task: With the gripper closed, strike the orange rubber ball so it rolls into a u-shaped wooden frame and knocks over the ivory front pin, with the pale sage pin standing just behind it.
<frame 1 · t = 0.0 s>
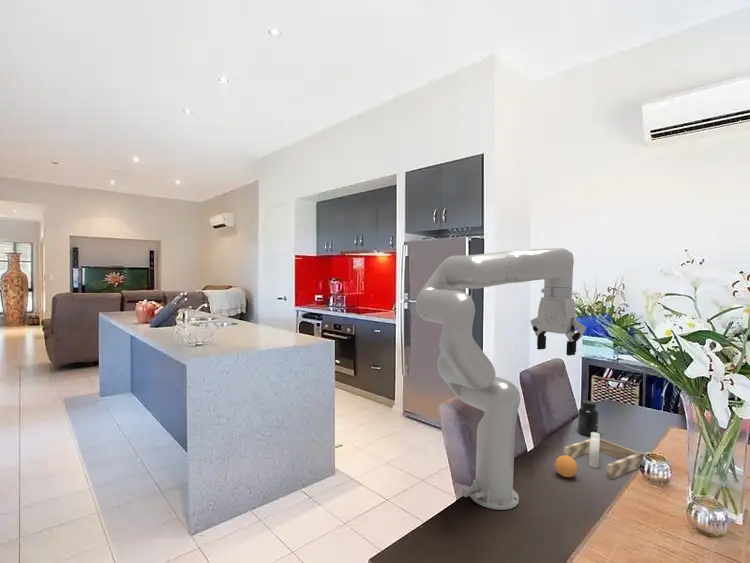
hand: (555, 352, 123), 37 cm above the table, tool pointing down, fingers open, 9 cm apart
u-shaped wooden frame: (602, 462, 134), on the table
front pin: (593, 466, 131), on the table
supplement bottle: (587, 434, 158), on the table
ball: (566, 466, 124), on the table
back pin: (594, 459, 136), resting in u-shaped wooden frame
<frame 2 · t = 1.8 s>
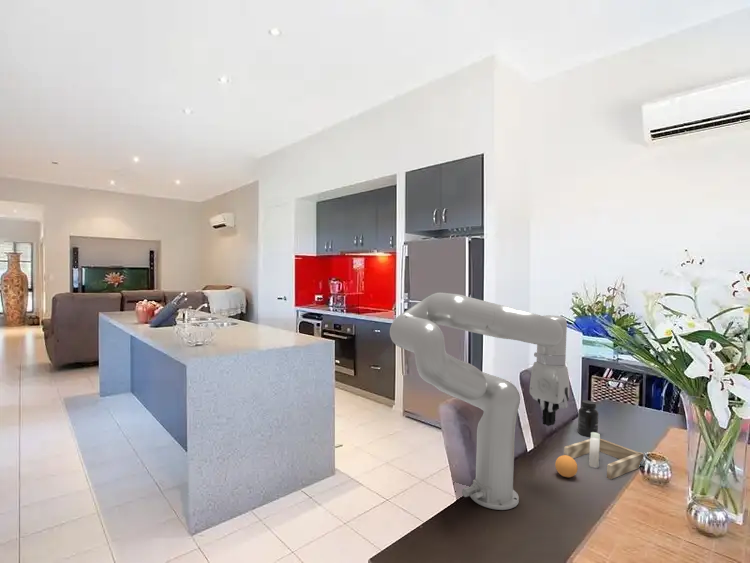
hand: (548, 424, 119), 17 cm above the table, tool pointing down, fingers closed
nothing on the table moved.
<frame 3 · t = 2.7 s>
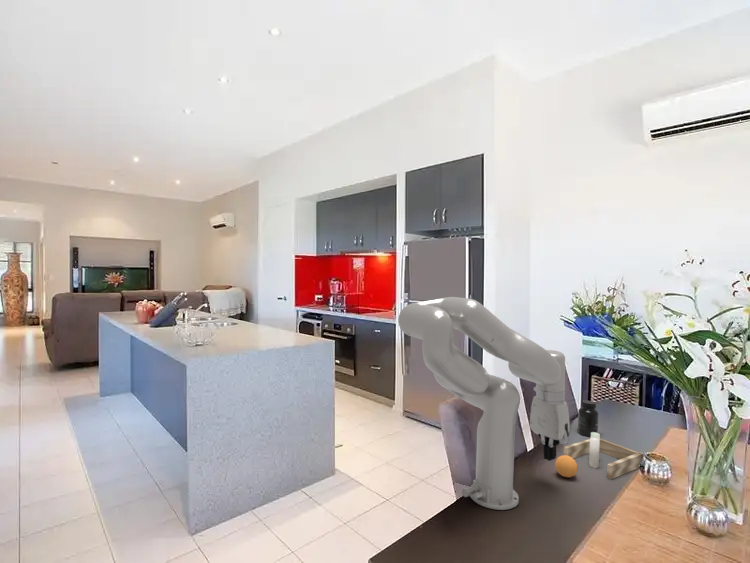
hand: (549, 458, 120), 7 cm above the table, tool pointing down, fingers closed
nothing on the table moved.
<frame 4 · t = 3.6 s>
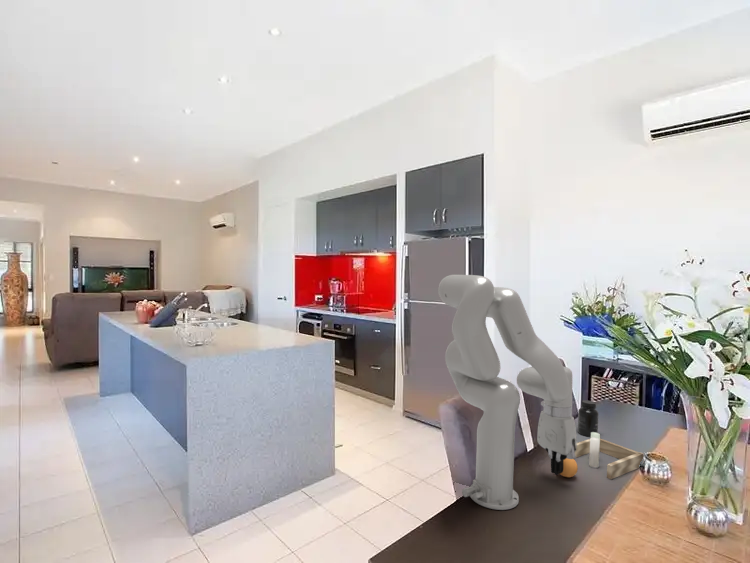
hand: (556, 472, 122), 2 cm above the table, tool pointing down, fingers closed
ball: (566, 466, 124), on the table, touching gripper
everything else where it was.
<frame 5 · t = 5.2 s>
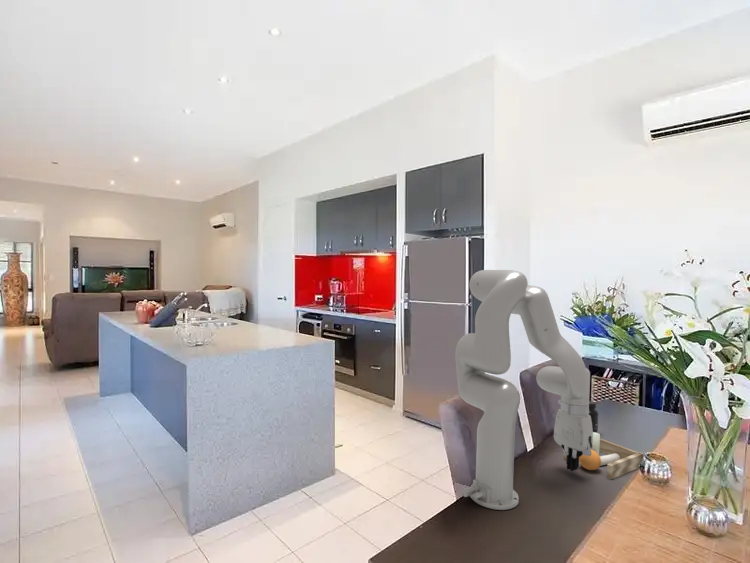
hand: (572, 468, 126), 2 cm above the table, tool pointing down, fingers closed
front pin: (597, 461, 132), point 1 cm above the table, tilted 90°
ball: (589, 459, 129), on the table
everything else where it was.
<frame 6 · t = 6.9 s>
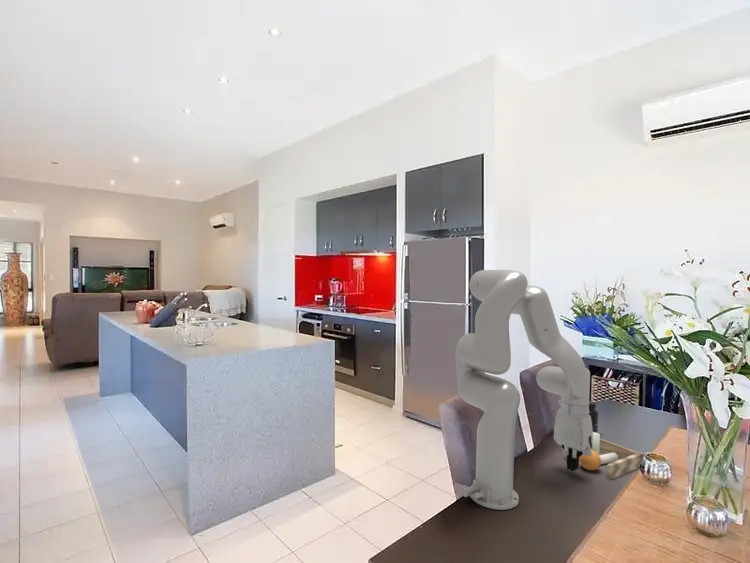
hand: (572, 468, 126), 2 cm above the table, tool pointing down, fingers closed
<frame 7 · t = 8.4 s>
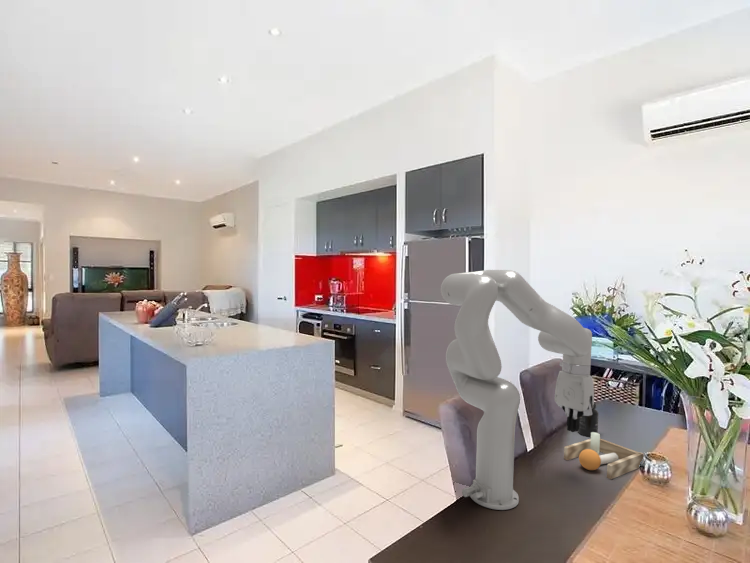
hand: (572, 430, 125), 13 cm above the table, tool pointing down, fingers closed
nothing on the table moved.
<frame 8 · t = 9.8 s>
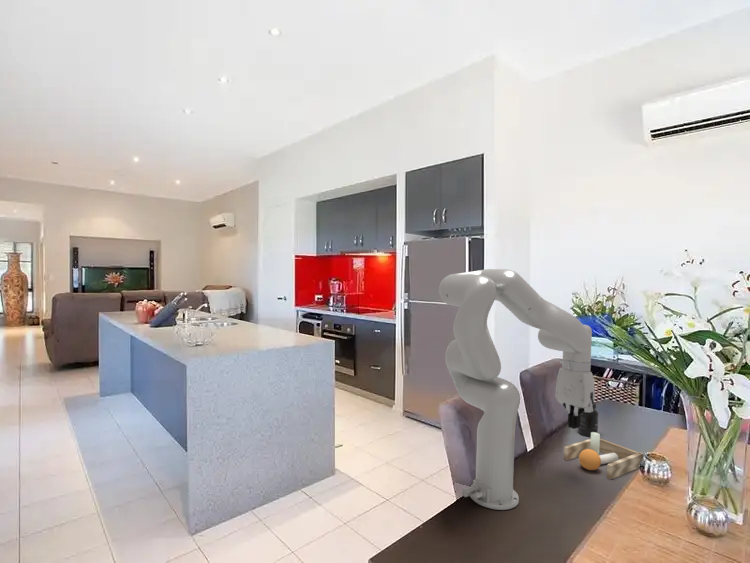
hand: (573, 427, 125), 14 cm above the table, tool pointing down, fingers closed
nothing on the table moved.
at the end: front pin tilted 90°; front pin never touched the robot; ball moved 10.6 cm from its start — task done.
